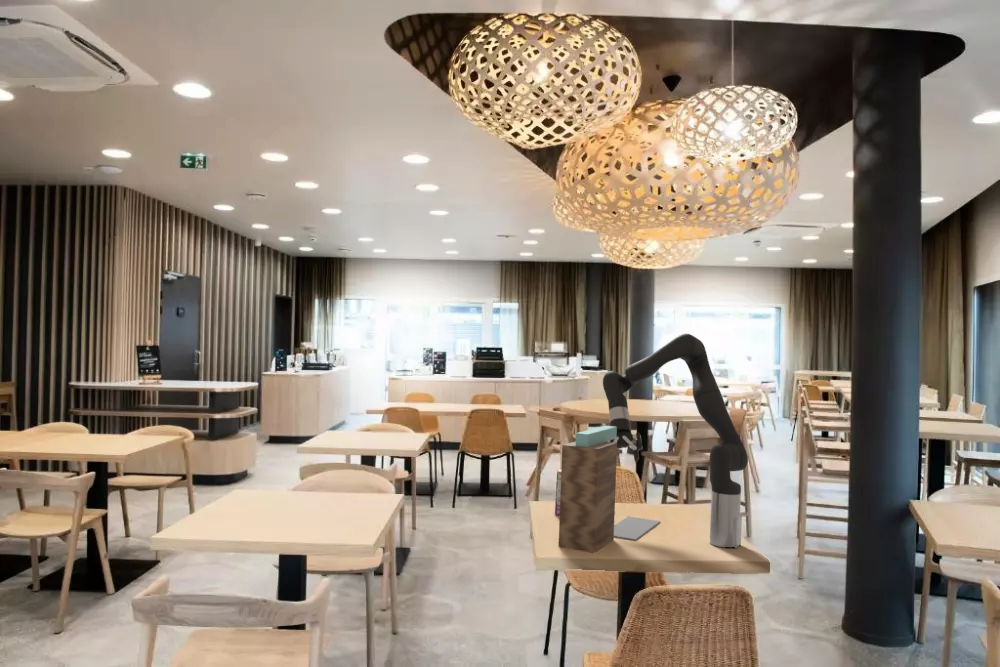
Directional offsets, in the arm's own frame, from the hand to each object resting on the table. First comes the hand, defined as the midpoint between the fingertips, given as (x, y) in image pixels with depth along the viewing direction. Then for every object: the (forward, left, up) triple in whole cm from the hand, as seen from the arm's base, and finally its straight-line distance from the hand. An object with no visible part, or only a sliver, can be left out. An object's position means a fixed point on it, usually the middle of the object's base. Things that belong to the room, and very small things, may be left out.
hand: (624, 462), depth 258 cm
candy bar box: (+22, -2, -23) cm, 31 cm away
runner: (-4, +1, -22) cm, 23 cm away
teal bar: (0, +23, +10) cm, 25 cm away
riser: (0, +29, -22) cm, 37 cm away
